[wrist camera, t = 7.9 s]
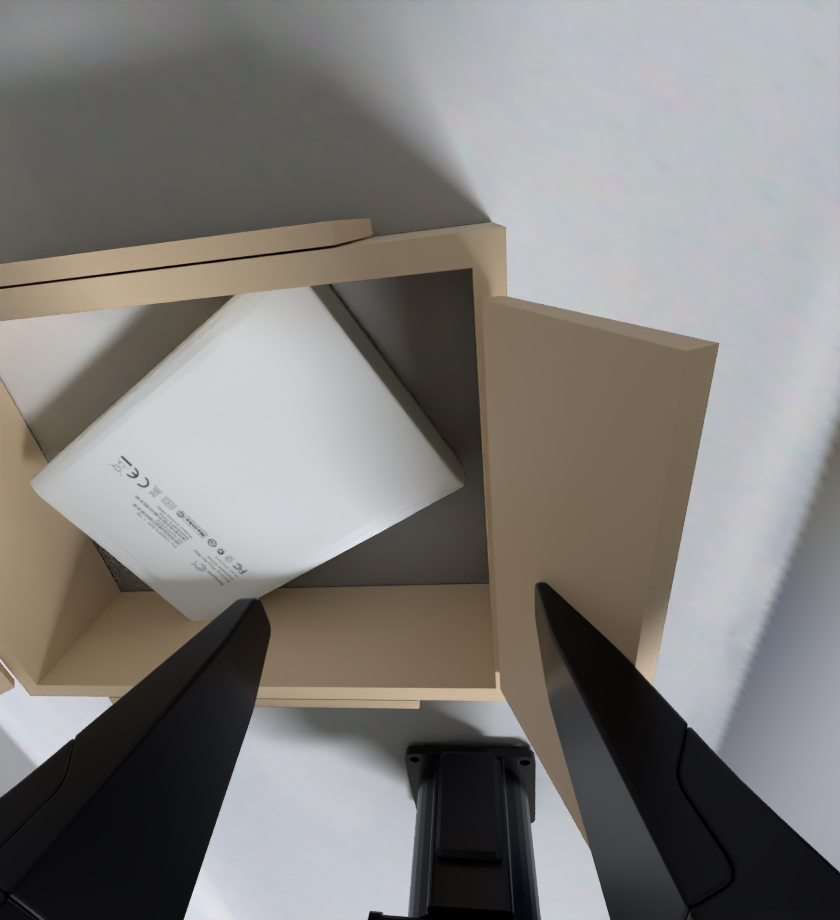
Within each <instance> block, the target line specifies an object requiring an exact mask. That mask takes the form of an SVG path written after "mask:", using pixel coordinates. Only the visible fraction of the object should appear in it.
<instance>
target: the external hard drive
mask: <svg viewBox="0 0 840 920" xmlns="http://www.w3.org/2000/svg"><path fill="white" fill-rule="evenodd" d="M464 476H465V473H464V470H463V466H462V463H461V462H460V460H459V458H458V457H457V455H456V454H455V452H454V451H453V450H452V449H451V447H450V446H449V445H448V443H447V442H446V441H445V439H444V438H443V437H442V435H441V434H440V432H439V431H438V430H437V428H436V427H435V426H434V424H433V423H432V422H431V420H430V419H429V418H428V416H427V415H426V414H425V412H424V411H423V410H422V408H421V407H420V406H419V404H418V403H417V402H416V400H415V399H414V398H413V396H412V395H411V394H410V392H409V391H408V390H407V388H406V387H405V386H404V384H403V383H402V382H401V380H400V379H399V378H398V377H397V375H396V374H395V372H394V371H393V369H392V368H391V367H390V366H389V364H388V363H387V362H386V360H385V359H384V358H383V356H382V355H381V354H380V352H379V351H378V350H377V348H376V347H375V346H374V344H373V343H372V342H371V340H370V339H369V338H368V336H367V335H366V334H365V332H364V331H363V330H362V328H361V327H360V325H359V324H358V323H357V321H356V320H355V319H354V317H353V316H352V315H351V314H350V312H349V311H348V310H347V308H346V307H345V306H344V304H343V303H342V301H341V300H340V299H339V297H338V296H337V295H336V293H335V292H334V291H333V289H332V288H331V287H330V285H329V284H324V285H316V286H307V287H298V288H289V289H280V290H271V291H262V292H254V293H245V294H236V295H234V296H233V297H232V298H231V299H230V300H229V301H228V302H227V303H225V304H224V305H223V306H222V307H221V308H220V309H219V310H218V311H217V312H216V313H214V314H213V315H212V316H211V317H210V318H209V319H208V320H207V321H205V322H204V323H203V324H202V325H201V326H200V327H199V328H198V329H196V330H195V331H194V332H193V333H192V334H191V335H190V336H189V337H188V338H187V339H185V340H184V341H183V342H182V343H181V344H180V345H179V346H178V347H177V348H175V349H174V350H173V351H172V352H171V353H170V354H169V355H168V356H167V357H166V358H164V359H163V360H162V361H161V362H160V363H159V364H158V365H157V366H156V367H154V368H153V369H152V370H151V371H150V372H149V373H148V374H147V375H146V376H145V377H143V378H142V379H141V380H140V381H139V382H138V383H137V384H136V385H134V386H133V387H132V388H131V389H130V390H129V391H128V392H127V393H126V394H124V395H123V396H122V397H121V398H120V399H119V400H118V401H117V402H116V403H114V404H113V405H112V406H111V407H110V408H109V409H108V410H107V411H106V412H104V413H103V414H102V415H101V416H100V417H99V418H98V419H97V420H96V421H94V422H93V423H92V424H91V425H90V426H89V427H88V428H87V429H86V430H84V431H83V432H82V433H81V434H80V435H79V436H78V437H77V438H76V439H74V440H73V441H72V442H71V443H70V444H69V445H68V446H67V447H66V448H65V449H64V450H62V451H61V452H60V453H59V454H58V455H57V456H56V457H55V458H54V459H52V460H51V461H50V462H49V463H48V464H47V465H46V466H45V467H44V468H42V469H41V470H40V471H39V472H38V473H37V474H36V475H35V476H34V477H32V478H31V479H30V484H31V486H32V487H33V489H34V491H35V492H36V493H37V494H38V495H39V496H40V497H41V498H43V499H44V500H45V501H46V502H47V503H49V504H50V505H51V506H52V507H53V508H55V509H56V510H57V511H58V512H60V513H61V514H62V515H63V516H64V517H66V518H67V519H68V520H69V521H71V522H72V523H73V524H74V525H76V526H77V527H78V528H79V529H81V530H82V531H83V532H84V533H85V534H87V535H88V536H89V537H90V538H92V539H93V540H94V541H95V542H97V543H98V544H99V545H100V546H101V547H103V548H104V549H105V550H106V551H108V552H109V553H110V554H111V555H112V556H114V557H115V558H116V559H117V560H118V561H119V562H121V563H122V564H123V565H124V566H125V567H127V568H128V569H129V570H130V571H131V572H133V573H134V574H135V575H136V576H137V577H139V578H140V579H141V580H142V581H143V582H145V583H146V584H147V585H148V586H149V587H151V588H152V589H153V590H154V591H156V592H157V593H158V594H159V595H160V596H162V597H163V598H164V599H165V600H166V601H168V602H169V603H170V604H171V605H173V606H174V607H175V608H176V609H177V610H178V611H180V612H181V613H182V614H183V615H184V616H186V617H187V618H188V619H190V620H191V621H202V620H210V619H215V618H216V617H217V616H218V615H219V614H221V613H222V612H223V611H224V610H225V609H227V608H228V607H229V606H230V605H231V604H232V603H234V602H235V601H236V600H238V599H240V598H249V597H257V598H259V597H261V596H263V595H265V594H267V593H269V592H271V591H273V590H274V589H276V588H278V587H280V586H282V585H284V584H285V583H287V582H289V581H291V580H293V579H295V578H296V577H298V576H300V575H302V574H304V573H306V572H307V571H309V570H311V569H313V568H315V567H316V566H318V565H320V564H322V563H324V562H326V561H328V560H330V559H331V558H333V557H335V556H337V555H339V554H341V553H342V552H344V551H346V550H348V549H350V548H352V547H354V546H356V545H357V544H359V543H361V542H363V541H365V540H367V539H368V538H370V537H372V536H374V535H376V534H378V533H380V532H381V531H383V530H385V529H387V528H389V527H390V526H392V525H394V524H396V523H398V522H400V521H401V520H403V519H405V518H407V517H409V516H411V515H412V514H414V513H416V512H418V511H419V510H421V509H423V508H425V507H427V506H429V505H431V504H432V503H434V502H436V501H438V500H440V499H441V498H443V497H445V496H447V495H449V494H451V493H453V492H454V491H456V490H458V489H460V488H461V487H463V486H464V484H465V481H464Z"/></svg>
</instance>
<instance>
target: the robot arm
mask: <svg viewBox="0 0 840 920" xmlns="http://www.w3.org/2000/svg"><path fill="white" fill-rule="evenodd" d="M535 622H536V628H537V634H538V640H539V647H540V653H541V659H542V665H543V671H544V677H545V684H546V689H547V694H548V699H549V703H550V707H551V711H552V715H553V718H554V722H555V726H556V729H557V733H558V736H559V740H560V743H561V747H562V750H563V754H564V757H565V761H566V764H567V768H568V771H569V775H570V779H571V782H572V786H573V789H574V793H575V796H576V800H577V803H578V807H579V810H580V814H581V817H582V821H583V824H584V828H585V832H586V835H587V839H588V842H589V846H590V849H591V853H592V856H593V860H594V863H595V867H596V870H597V874H598V877H599V881H600V885H601V888H602V892H603V895H604V899H605V902H606V906H607V909H608V913H609V916H610V920H840V872H839V871H838V870H837V869H836V868H834V867H833V866H832V865H831V864H830V863H829V862H828V861H827V860H826V859H825V858H823V856H822V855H820V854H819V853H818V852H817V851H816V850H815V849H814V848H813V847H812V846H811V845H810V844H808V843H807V842H806V841H805V840H804V839H803V838H802V837H801V836H800V835H799V834H798V833H797V832H795V831H794V830H793V829H792V828H791V827H790V826H789V825H788V824H787V823H786V822H785V821H784V820H783V819H781V818H780V817H779V816H778V815H777V814H776V813H775V812H774V811H773V810H772V809H771V808H770V807H769V806H768V805H767V804H766V803H764V801H762V800H761V799H760V798H759V797H758V796H757V795H756V794H755V793H754V792H753V791H752V790H751V789H750V788H749V787H748V786H747V785H746V784H745V783H743V782H742V781H741V780H740V779H739V778H738V776H737V775H736V774H735V773H734V772H733V771H732V770H731V769H730V768H729V767H728V766H727V765H726V764H725V763H724V762H723V761H722V760H721V759H720V758H719V757H718V756H717V755H716V754H715V753H714V751H713V750H712V749H711V748H710V747H709V746H708V745H707V744H706V743H705V742H704V741H703V740H702V739H701V737H700V736H699V735H698V734H697V733H696V732H695V731H694V730H693V729H692V728H691V727H688V728H687V723H686V721H685V720H684V719H683V718H682V717H681V716H680V715H679V714H678V713H677V712H676V711H675V710H674V708H673V707H672V706H671V705H670V704H669V703H668V702H667V701H666V700H665V699H664V698H663V697H662V695H661V694H660V693H659V692H658V691H657V690H656V689H655V688H654V687H653V686H652V685H651V684H650V682H649V681H648V680H647V679H646V678H645V677H644V676H643V675H642V674H641V673H640V672H639V671H638V669H637V668H636V667H635V666H634V665H633V664H632V663H631V662H630V661H629V660H628V659H627V658H626V657H625V655H624V654H623V653H622V652H621V651H620V650H619V649H617V648H616V647H615V646H614V645H613V644H612V643H611V642H610V641H609V640H608V639H607V638H606V637H605V636H604V635H603V634H602V633H601V632H600V631H599V630H597V629H596V628H595V627H594V626H593V625H592V624H591V623H590V622H589V621H588V620H586V619H585V618H584V617H583V616H582V615H581V614H580V613H579V612H578V611H577V610H576V609H574V608H573V607H572V606H571V605H570V604H569V603H568V602H567V601H566V600H565V599H564V598H562V597H561V596H560V595H559V594H558V593H557V592H556V591H555V590H554V589H553V588H552V587H550V586H549V585H548V584H547V583H546V582H537V583H536V584H535ZM270 636H271V625H270V622H269V619H268V617H267V614H266V612H265V609H264V607H263V604H262V602H261V600H260V599H259V598H257V597H249V598H240V599H238V600H236V601H235V602H234V603H232V604H231V605H230V606H229V607H228V608H227V609H225V610H224V611H223V612H222V613H221V614H219V615H218V616H217V617H216V618H215V619H214V620H212V621H211V622H210V623H209V624H208V625H206V626H205V627H204V628H203V629H202V630H201V631H199V632H198V633H197V634H196V635H195V636H193V637H192V638H191V639H190V640H189V641H188V642H186V643H185V644H184V645H183V646H182V647H180V648H179V649H178V650H177V651H176V652H174V653H173V654H172V655H171V656H170V657H169V658H167V659H166V660H165V661H164V662H163V663H161V664H160V665H159V666H158V667H157V668H156V669H154V670H153V671H152V672H151V673H150V674H148V675H147V676H146V677H145V678H144V679H143V680H141V681H140V682H139V683H138V684H137V685H135V686H134V687H133V688H132V689H131V690H130V691H128V692H127V693H126V694H125V695H124V696H122V697H121V698H120V699H119V700H118V701H117V702H115V703H114V704H113V705H112V706H111V707H109V708H108V709H107V710H106V711H105V712H103V713H102V714H101V715H100V716H99V717H98V718H96V719H95V720H94V721H93V722H92V723H90V724H89V725H88V726H87V727H86V728H85V729H83V730H82V731H81V732H80V733H79V734H77V735H76V737H75V739H72V740H70V741H69V742H68V743H67V744H65V745H64V746H63V747H62V748H61V749H60V750H58V751H57V752H56V753H55V754H54V755H52V756H51V757H50V758H49V759H48V760H46V761H45V762H44V763H43V764H42V765H40V766H39V767H38V768H37V769H35V770H34V771H33V772H32V773H31V774H29V775H28V776H27V777H26V778H25V779H23V780H22V781H21V782H20V783H18V784H17V785H16V786H15V787H13V788H12V789H11V790H10V791H8V792H7V793H6V794H4V795H3V796H2V797H1V798H0V920H184V917H185V914H186V911H187V908H188V905H189V902H190V899H191V896H192V893H193V890H194V887H195V884H196V881H197V878H198V875H199V872H200V869H201V866H202V863H203V860H204V857H205V854H206V851H207V848H208V845H209V842H210V839H211V836H212V833H213V830H214V827H215V824H216V821H217V818H218V815H219V812H220V809H221V806H222V803H223V800H224V797H225V794H226V791H227V788H228V785H229V782H230V779H231V776H232V773H233V770H234V767H235V764H236V761H237V758H238V755H239V752H240V749H241V746H242V743H243V740H244V737H245V734H246V731H247V728H248V725H249V722H250V719H251V716H252V713H253V709H254V706H255V702H256V698H257V694H258V689H259V685H260V681H261V676H262V672H263V667H264V663H265V658H266V654H267V649H268V645H269V640H270ZM405 760H406V765H407V769H408V774H409V778H410V783H411V787H412V792H413V796H414V800H415V805H416V809H417V813H416V825H415V837H414V850H413V862H412V874H411V887H410V899H409V911H408V917H402V916H389V915H383V912H375V911H370V913H369V917H368V920H541V916H540V907H539V897H538V888H537V879H536V869H535V860H534V850H533V841H532V832H531V823H533V822H534V821H535V755H534V752H533V751H532V750H529V749H525V748H485V747H444V746H410V747H408V748H407V749H406V757H405Z"/></svg>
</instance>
